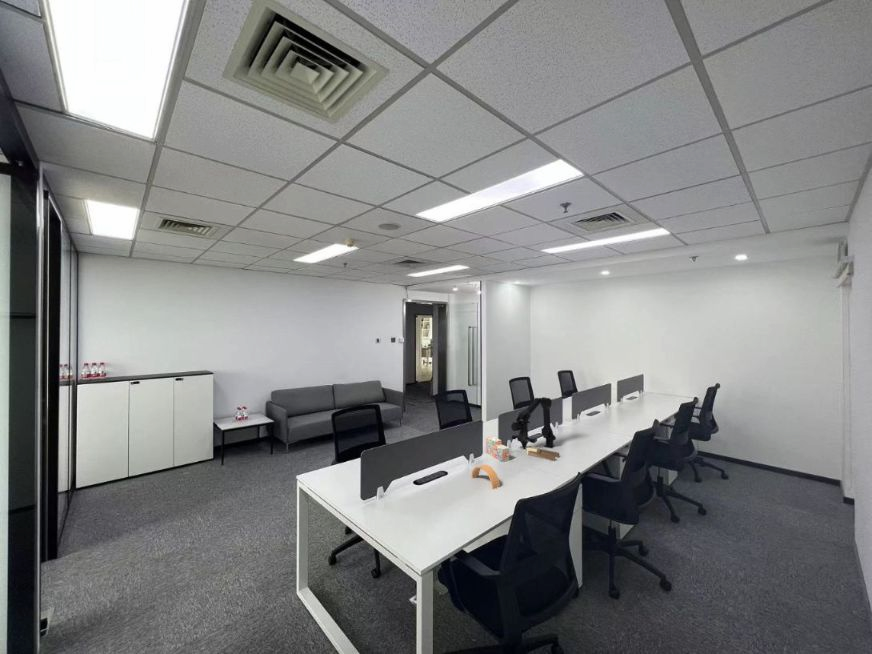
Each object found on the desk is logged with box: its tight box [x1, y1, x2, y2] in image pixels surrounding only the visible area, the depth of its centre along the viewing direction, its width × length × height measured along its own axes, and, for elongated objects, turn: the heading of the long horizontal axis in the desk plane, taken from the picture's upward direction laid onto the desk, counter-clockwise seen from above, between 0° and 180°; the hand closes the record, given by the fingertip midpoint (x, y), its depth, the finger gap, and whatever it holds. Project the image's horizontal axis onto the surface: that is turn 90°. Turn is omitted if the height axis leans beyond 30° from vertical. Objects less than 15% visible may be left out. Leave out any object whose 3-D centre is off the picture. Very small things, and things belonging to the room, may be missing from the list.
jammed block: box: [526, 445, 541, 455], centre depth 265 cm, size 6×8×4 cm
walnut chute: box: [527, 448, 560, 462], centre depth 260 cm, size 10×20×3 cm, turn 52°
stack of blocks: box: [485, 436, 510, 463], centre depth 260 cm, size 21×6×12 cm, turn 25°
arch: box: [471, 464, 501, 490], centre depth 216 cm, size 6×20×10 cm, turn 34°
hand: (524, 449), depth 269 cm, fingers closed
